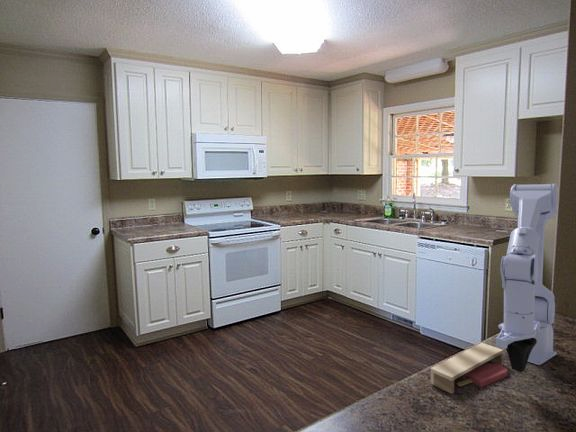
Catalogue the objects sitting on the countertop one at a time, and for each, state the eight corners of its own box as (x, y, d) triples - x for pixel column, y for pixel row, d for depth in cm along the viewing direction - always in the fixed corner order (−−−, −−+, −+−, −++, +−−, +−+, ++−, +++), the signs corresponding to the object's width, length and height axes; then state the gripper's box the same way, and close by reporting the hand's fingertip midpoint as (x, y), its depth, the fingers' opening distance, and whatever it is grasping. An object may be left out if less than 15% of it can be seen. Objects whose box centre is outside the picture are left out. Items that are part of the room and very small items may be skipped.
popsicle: (448, 376, 95) (493, 360, 101) (448, 383, 95) (493, 366, 102) (467, 387, 90) (513, 369, 97) (467, 393, 91) (513, 376, 97)
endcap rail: (481, 356, 106) (481, 342, 106) (503, 364, 102) (503, 349, 101) (430, 383, 95) (430, 368, 94) (451, 393, 90) (451, 377, 90)
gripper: (517, 297, 95) (516, 353, 96) (481, 313, 87) (481, 373, 88) (550, 305, 89) (549, 364, 91) (515, 322, 81) (514, 387, 83)
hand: (518, 369), depth 89 cm, fingers closed
